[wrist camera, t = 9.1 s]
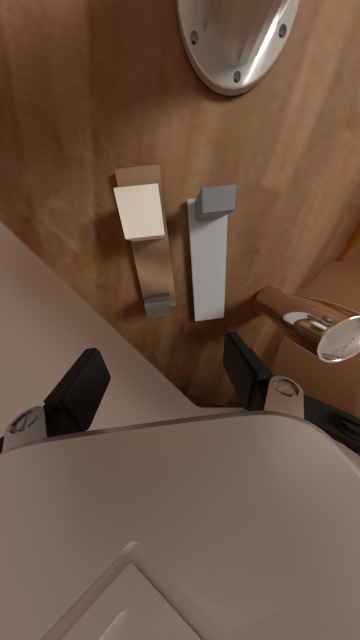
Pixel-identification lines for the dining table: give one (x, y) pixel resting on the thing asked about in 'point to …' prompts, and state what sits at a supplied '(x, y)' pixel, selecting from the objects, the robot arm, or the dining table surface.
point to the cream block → (140, 212)
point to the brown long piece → (151, 249)
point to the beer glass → (312, 323)
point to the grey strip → (209, 248)
